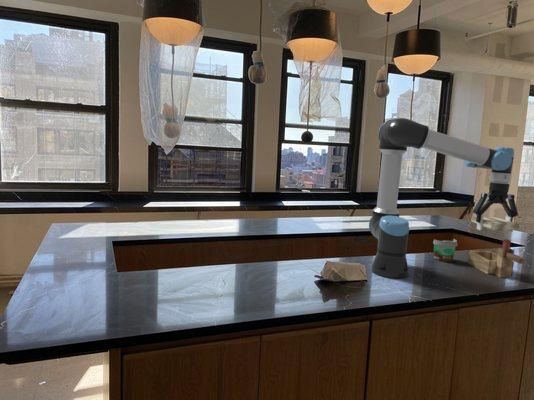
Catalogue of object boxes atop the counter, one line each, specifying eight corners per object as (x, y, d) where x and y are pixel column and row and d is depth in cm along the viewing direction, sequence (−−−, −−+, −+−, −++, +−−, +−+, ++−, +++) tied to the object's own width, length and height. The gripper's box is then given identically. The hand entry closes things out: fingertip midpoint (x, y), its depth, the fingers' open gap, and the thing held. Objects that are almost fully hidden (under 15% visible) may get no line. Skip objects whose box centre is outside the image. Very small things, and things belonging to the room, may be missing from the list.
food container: (439, 263, 183) (442, 242, 181) (430, 259, 188) (433, 239, 187) (461, 262, 186) (464, 242, 184) (452, 258, 192) (454, 238, 190)
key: (519, 263, 156) (521, 246, 155) (500, 255, 168) (502, 239, 167) (524, 263, 156) (527, 246, 155) (505, 255, 168) (508, 239, 167)
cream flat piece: (490, 230, 167) (491, 222, 166) (470, 223, 182) (471, 216, 181) (517, 232, 167) (518, 224, 167) (495, 224, 182) (496, 217, 182)
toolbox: (492, 276, 166) (496, 249, 164) (467, 262, 186) (470, 238, 184) (517, 277, 167) (521, 250, 165) (490, 263, 186) (493, 239, 184)
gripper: (477, 181, 167) (471, 230, 170) (532, 184, 168) (524, 233, 171) (468, 180, 175) (462, 227, 178) (520, 183, 176) (513, 229, 179)
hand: (492, 230), depth 175 cm, fingers closed on cream flat piece, 12 cm apart
